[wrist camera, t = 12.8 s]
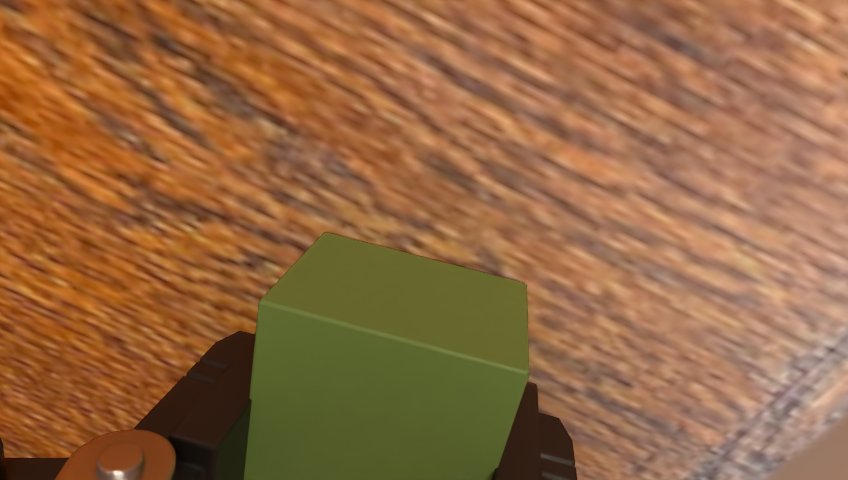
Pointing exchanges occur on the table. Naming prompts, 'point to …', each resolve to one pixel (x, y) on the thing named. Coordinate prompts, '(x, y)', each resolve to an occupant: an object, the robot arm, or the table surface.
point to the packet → (384, 368)
